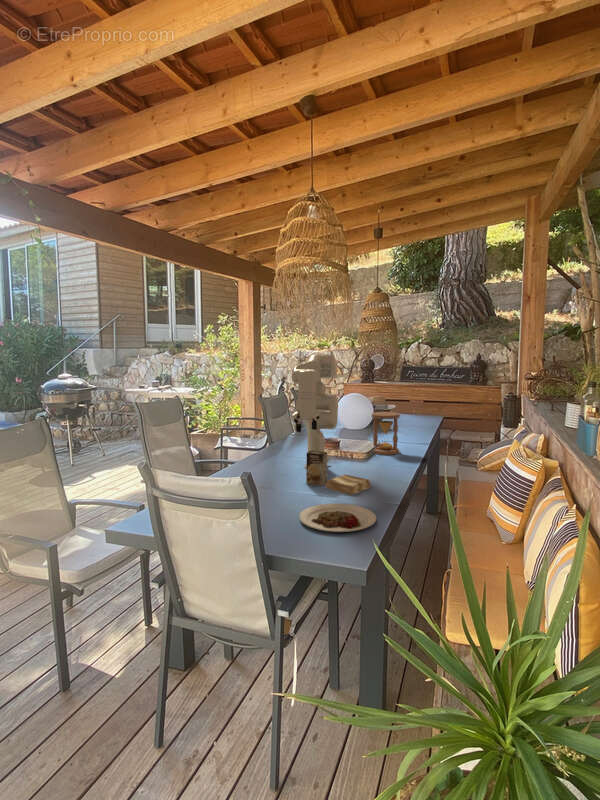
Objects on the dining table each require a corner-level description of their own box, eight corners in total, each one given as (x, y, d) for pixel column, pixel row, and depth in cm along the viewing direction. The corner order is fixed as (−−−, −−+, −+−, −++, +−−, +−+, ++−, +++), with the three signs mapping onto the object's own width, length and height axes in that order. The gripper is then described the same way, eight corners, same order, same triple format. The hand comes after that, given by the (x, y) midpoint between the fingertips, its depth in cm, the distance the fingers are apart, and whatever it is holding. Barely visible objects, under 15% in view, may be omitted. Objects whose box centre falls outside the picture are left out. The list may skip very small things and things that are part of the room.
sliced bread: (345, 481, 239) (345, 474, 238) (370, 487, 229) (370, 479, 228) (326, 488, 228) (326, 480, 227) (351, 494, 218) (351, 486, 217)
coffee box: (305, 484, 235) (305, 452, 233) (310, 481, 240) (310, 450, 239) (322, 486, 231) (322, 454, 229) (327, 483, 237) (327, 451, 235)
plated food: (315, 504, 206) (315, 496, 205) (383, 513, 194) (383, 505, 194) (287, 528, 178) (287, 520, 178) (364, 541, 167) (364, 531, 166)
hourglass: (403, 451, 306) (404, 413, 304) (391, 456, 293) (391, 416, 290) (379, 448, 317) (379, 411, 314) (366, 452, 304) (366, 414, 301)
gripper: (315, 394, 238) (315, 427, 240) (287, 396, 228) (287, 431, 230) (324, 395, 232) (324, 429, 234) (296, 397, 222) (296, 433, 224)
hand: (306, 430), depth 232 cm, fingers open, 9 cm apart
